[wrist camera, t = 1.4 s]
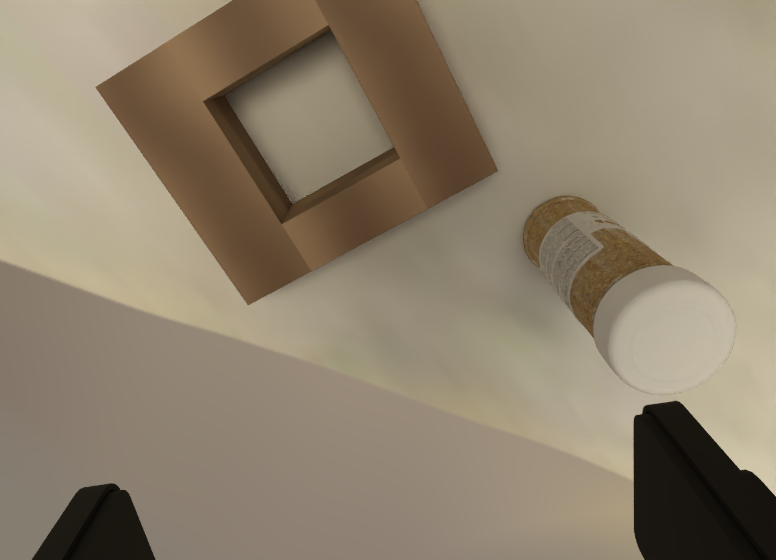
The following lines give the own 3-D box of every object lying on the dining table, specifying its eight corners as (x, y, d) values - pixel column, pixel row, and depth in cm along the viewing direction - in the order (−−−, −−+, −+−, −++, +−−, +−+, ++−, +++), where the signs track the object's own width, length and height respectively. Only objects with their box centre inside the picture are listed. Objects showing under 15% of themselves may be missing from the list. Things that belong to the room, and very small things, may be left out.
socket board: (373, -70, 28) (373, -89, 24) (482, 156, 31) (498, 170, 28) (130, 82, 30) (95, 87, 26) (261, 277, 34) (248, 305, 30)
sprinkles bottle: (617, 221, 33) (769, 325, 20) (566, 285, 34) (679, 420, 22) (554, 177, 32) (673, 258, 19) (503, 245, 33) (584, 361, 21)
